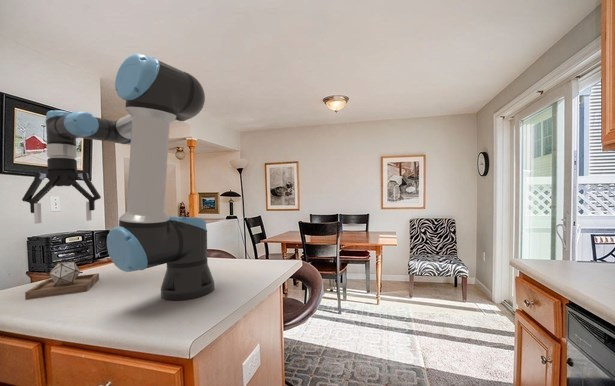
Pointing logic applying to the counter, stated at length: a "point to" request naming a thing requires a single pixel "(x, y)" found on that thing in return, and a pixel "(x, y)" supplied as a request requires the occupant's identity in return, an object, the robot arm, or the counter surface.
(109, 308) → the counter surface
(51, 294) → the walnut tray
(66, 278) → the game die
